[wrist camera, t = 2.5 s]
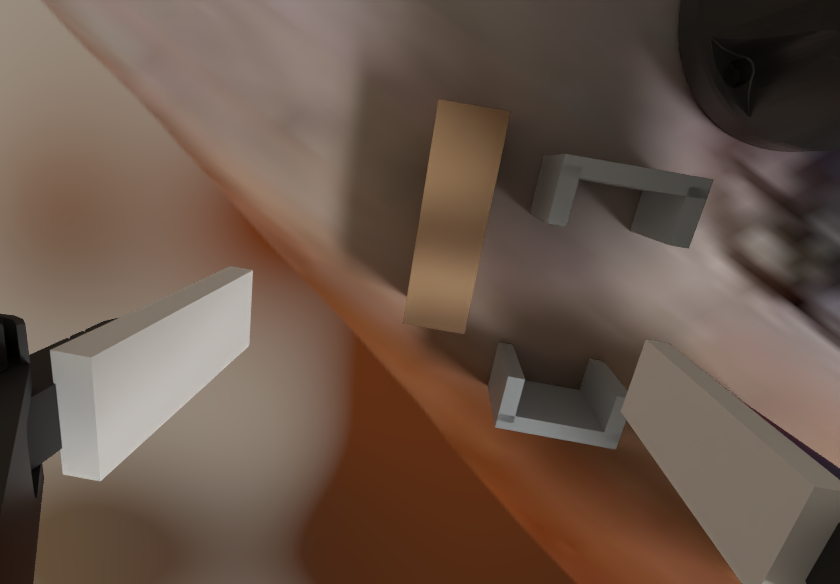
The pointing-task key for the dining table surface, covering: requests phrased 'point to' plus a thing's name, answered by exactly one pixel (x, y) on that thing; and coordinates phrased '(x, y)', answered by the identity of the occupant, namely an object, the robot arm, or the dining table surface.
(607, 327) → the dining table surface
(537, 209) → the grey u-shaped bracket
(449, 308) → the slat
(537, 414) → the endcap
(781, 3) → the robot arm
